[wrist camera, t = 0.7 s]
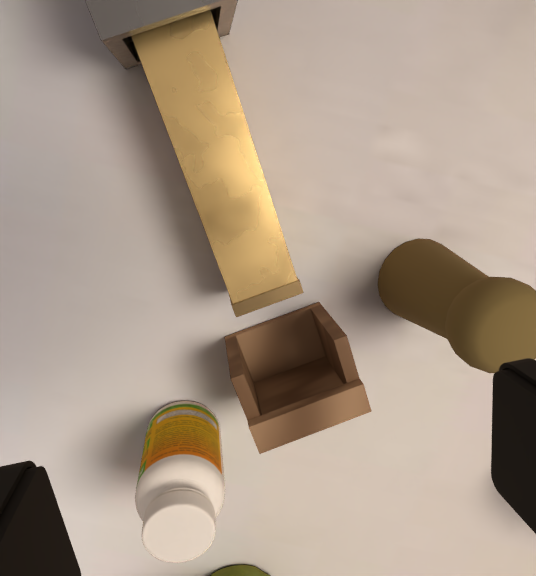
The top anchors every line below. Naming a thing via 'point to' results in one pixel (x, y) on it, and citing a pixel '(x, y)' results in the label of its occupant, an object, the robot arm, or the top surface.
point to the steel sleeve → (149, 20)
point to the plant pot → (240, 571)
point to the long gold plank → (218, 159)
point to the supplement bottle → (180, 482)
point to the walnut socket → (294, 376)
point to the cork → (460, 304)
